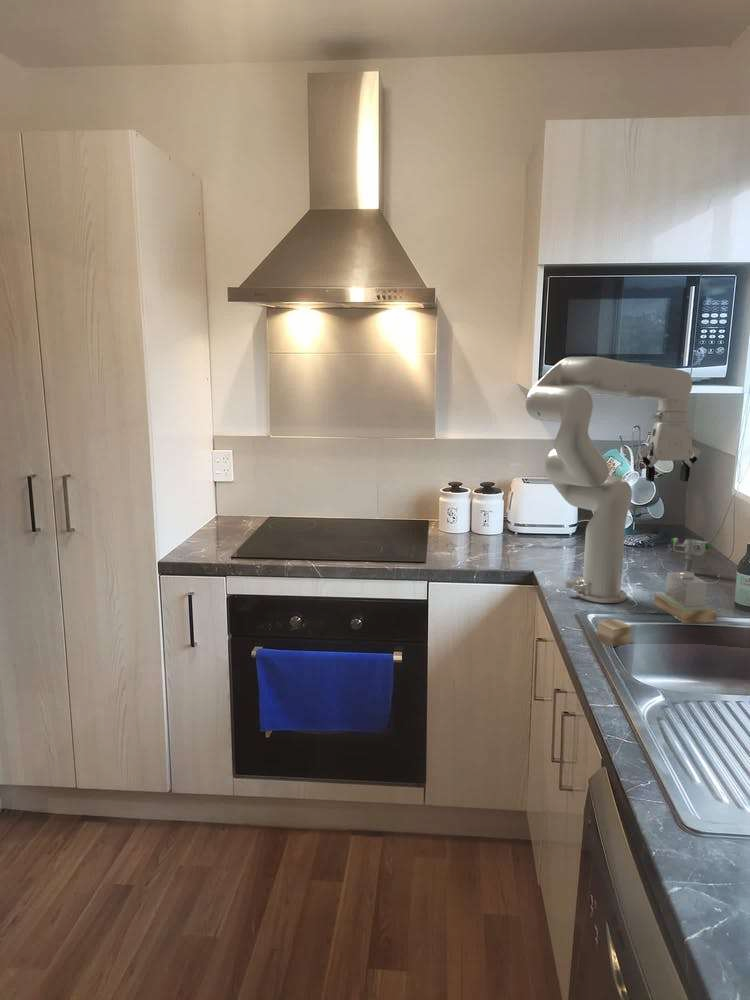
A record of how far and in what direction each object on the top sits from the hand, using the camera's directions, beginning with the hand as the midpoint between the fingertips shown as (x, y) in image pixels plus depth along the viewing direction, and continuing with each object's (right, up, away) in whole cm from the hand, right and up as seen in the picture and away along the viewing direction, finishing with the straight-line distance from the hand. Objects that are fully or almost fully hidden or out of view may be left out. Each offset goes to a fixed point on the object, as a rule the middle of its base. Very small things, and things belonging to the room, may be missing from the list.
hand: (666, 480), depth 195 cm
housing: (-4, -30, -21) cm, 37 cm away
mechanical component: (+11, -27, +12) cm, 32 cm away
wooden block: (-4, -33, -21) cm, 39 cm away
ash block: (-28, -36, -39) cm, 60 cm away
